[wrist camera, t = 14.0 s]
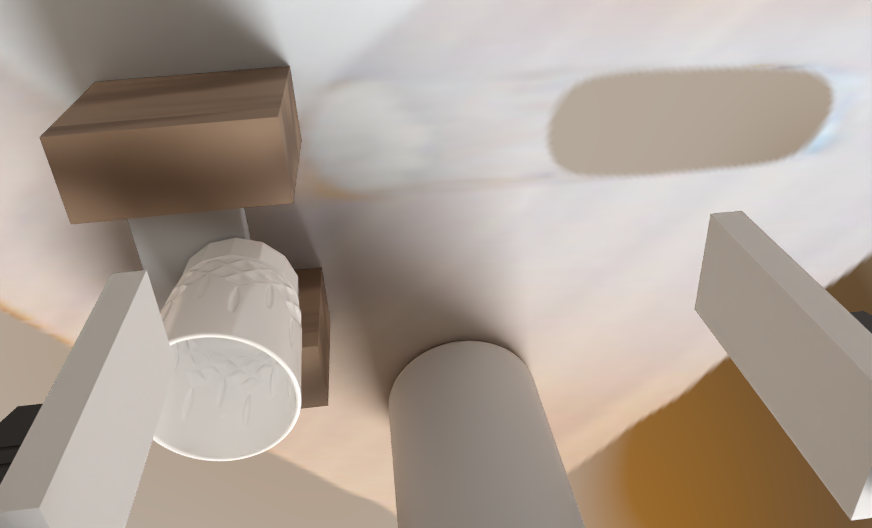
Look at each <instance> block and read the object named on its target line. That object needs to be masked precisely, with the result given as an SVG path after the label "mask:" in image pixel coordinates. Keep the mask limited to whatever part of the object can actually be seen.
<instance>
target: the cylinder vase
mask: <svg viewBox="0 0 872 528" xmlns="http://www.w3.org/2000/svg"><path fill="white" fill-rule="evenodd" d="M389 419H390V432H391V445H392V457H393V470H394V483H395V495H396V508H397V521H398V528H585V526H584V523H583V520H582V517H581V514H580V511H579V509H578V507H577V503H576V500H575V497H574V494H573V492H572V488H571V486H570V483H569V480H568V477H567V474H566V471H565V468H564V465H563V463H562V460H561V457H560V454H559V451H558V448H557V445H556V442H555V440H554V437H553V434H552V431H551V428H550V425H549V422H548V420H547V417H546V414H545V411H544V408H543V405H542V402H541V399H540V397H539V394H538V391H537V388H536V385H535V382H534V379H533V377H532V375H531V373H530V371H529V369H528V368H527V366H526V365H525V364H524V363H523V361H522V360H521V359H520V358H518V357H517V356H516V355H515V354H513V353H512V352H510V351H509V350H507V349H505V348H503V347H500V346H498V345H495V344H491V343H487V342H481V341H458V342H451V343H447V344H443V345H440V346H437V347H435V348H432V349H430V350H428V351H426V352H424V353H422V354H421V355H419V356H418V357H416V358H415V359H414V360H412V361H411V362H410V363H409V364H408V365H407V366H406V367H405V368H404V369H403V370H402V371H401V373H400V374H399V375H398V377H397V379H396V380H395V382H394V384H393V387H392V389H391V392H390V397H389Z"/></svg>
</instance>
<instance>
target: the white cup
mask: <svg viewBox="0 0 872 528" xmlns="http://www.w3.org/2000/svg"><path fill="white" fill-rule="evenodd" d="M160 315H161V318H162V321H163V325H164V328H165V331H166V334H167V337H168V341H169V344H170V347H171V350H172V354H173V357H174V360H175V363H176V368H175V371H174V374H173V377H172V380H171V383H170V387H169V390H168V393H167V396H166V399H165V402H164V406H163V409H162V412H161V415H160V418H159V422H158V425H157V428H156V431H155V434H154V437H153V440H154V441H155V442H157V443H158V444H160V445H161V446H163V447H165V448H167V449H169V450H171V451H173V452H175V453H178V454H180V455H183V456H187V457H190V458H195V459H200V460H208V461H231V460H238V459H243V458H247V457H251V456H254V455H257V454H259V453H262V452H264V451H266V450H268V449H270V448H271V447H273V446H275V445H276V444H278V443H279V442H280V441H281V440H282V439H284V438H285V437H286V436H287V435H288V433H289V432H290V431H291V430H292V428H293V427H294V425H295V423H296V421H297V419H298V417H299V413H300V409H301V376H302V325H301V310H300V308H299V284H298V275H297V274H296V272H295V271H294V269H293V268H292V266H291V265H290V263H289V262H288V260H287V259H286V257H285V256H284V255H282V254H281V253H279V252H278V251H276V250H274V249H273V248H271V247H270V246H268V245H266V244H265V243H263V242H259V241H253V240H248V239H242V238H231V239H226V240H222V241H217V242H212V243H209V244H208V245H206V246H205V247H204V248H202V249H201V250H200V251H199V252H197V253H196V254H195V255H193V256H192V257H191V258H190V259H189V261H188V263H187V265H186V267H185V270H184V272H183V274H182V276H181V278H180V280H179V282H178V283H177V285H176V286H175V287H174V288H173V290H172V291H171V294H170V296H169V297H168V299H167V301H166V303H165V305H164V306H163V308H162V310H161V312H160Z"/></svg>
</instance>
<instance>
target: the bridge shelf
mask: <svg viewBox="0 0 872 528" xmlns="http://www.w3.org/2000/svg"><path fill="white" fill-rule="evenodd" d="M40 140H41V143H42V146H43V148H44V151H45V154H46V157H47V159H48V162H49V165H50V168H51V170H52V173H53V176H54V179H55V182H56V184H57V187H58V190H59V193H60V195H61V198H62V201H63V204H64V206H65V209H66V212H67V215H68V218H69V220H70V223H71V224H79V223H89V222H100V221H111V220H121V219H128V223H129V226H130V229H131V232H132V235H133V239H134V242H135V245H136V248H137V251H138V255H139V258H140V261H141V264H142V267H143V270H147V273H148V276H149V279H150V283H151V286H152V289H153V292H154V295H155V299H156V302H157V305H158V308H159V312H161V310H162V308H163V306H164V305H165V303H166V301H167V299H168V297H169V296H170V294H171V291H172V290H173V288H174V287H175V286H176V285H177V283H178V282H179V280H180V278H181V276H182V274H183V272H184V270H185V267H186V265H187V263H188V261H189V259H190V258H191V257H192V256H193V255H195V254H196V253H197V252H199V251H200V250H201V249H202V248H204V247H205V246H206V245H208V244H209V243H212V242H217V241H222V240H226V239H231V238H242V239H248V240H251V238H250V233H249V229H248V224H247V219H246V215H245V210H244V208H248V207H259V206H269V205H280V204H291V203H293V200H294V193H295V185H296V178H297V171H298V163H299V156H300V149H301V141H302V140H301V134H300V128H299V121H298V115H297V109H296V102H295V96H294V90H293V83H292V77H291V71H290V66H285V67H272V68H260V69H248V70H236V71H223V72H211V73H199V74H186V75H174V76H162V77H150V78H137V79H125V80H113V81H100V82H95V83H94V84H93V85H92V86H91V87H90V88H89V89H88V90H87V91H86V92H85V93H84V94H83V95H82V96H81V97H80V98H79V99H78V100H77V101H76V102H75V103H74V104H73V105H71V106H70V107H69V108H68V109H67V110H66V111H65V112H64V113H63V114H62V115H61V116H60V117H59V118H58V119H57V120H56V121H55V122H54V123H53V124H52V125H51V126H50V127H49V128H48V129H47V130H46V131H45V132H44V133H43V134H42V135H41V136H40ZM294 271H295V272H296V274H297V275H298V284H299V308H300V310H301V325H302V376H301V409H302V408H311V407H319V406H328V390H329V353H330V317H329V311H328V304H327V298H326V292H325V285H324V279H323V273H322V268H313V269H303V270H294Z"/></svg>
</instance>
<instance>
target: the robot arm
mask: <svg viewBox="0 0 872 528" xmlns="http://www.w3.org/2000/svg"><path fill="white" fill-rule="evenodd" d="M695 310H696V312H697V313H698V314H699V316H700V317H701V318H702V320H703V321H704V322H705V324H706V325H707V327H708V328H709V329H710V331H711V332H712V333H713V335H714V336H715V337H716V339H717V340H718V341H719V343H720V344H721V345H722V347H723V348H724V349H725V351H726V352H727V354H728V355H729V356H730V358H731V359H732V360H733V362H734V363H735V364H736V365H737V367H738V368H739V370H740V371H741V372H742V373H743V375H744V376H745V378H746V379H747V381H748V382H749V383H750V385H751V386H752V387H753V389H754V390H755V391H756V393H757V394H758V395H759V397H760V398H761V399H762V401H763V402H764V403H765V405H766V406H767V408H768V409H769V410H770V412H771V413H772V414H773V416H774V417H775V418H776V420H777V421H778V422H779V424H780V425H781V426H782V428H783V429H784V431H785V432H786V433H787V434H788V436H789V437H790V439H791V440H792V441H793V443H794V444H795V445H796V447H797V448H798V449H799V451H800V452H801V453H802V455H803V456H804V457H805V459H806V460H807V462H808V463H809V464H810V466H811V467H812V468H813V469H814V471H815V472H816V474H817V475H818V476H819V478H820V479H821V480H822V482H823V483H824V485H825V486H826V487H827V489H828V490H829V491H830V493H831V494H832V495H833V496H834V498H835V499H836V501H837V502H838V503H839V505H840V506H841V508H842V509H843V510H844V512H845V513H846V514H847V516H848V517H849V518H850V520H856V519H865V518H872V315H870V314H868V313H867V312H864V311H860V312H851V313H849V312H848V311H847V310H846V309H845V308H844V307H843V306H842V305H841V304H840V303H839V302H838V301H837V300H835V298H833V297H832V296H831V295H830V294H829V293H828V292H827V291H826V290H825V289H824V288H823V287H822V286H821V285H820V284H819V283H818V282H817V281H815V280H814V279H813V278H812V277H811V276H810V275H809V274H808V273H807V272H806V271H805V270H804V269H803V268H802V267H801V266H800V265H799V264H797V263H796V262H795V261H794V260H793V259H792V258H791V257H790V256H789V255H788V254H787V253H786V252H785V251H784V250H783V249H782V248H781V247H779V246H778V245H777V244H776V243H775V242H774V241H773V240H772V239H771V238H770V237H769V236H768V235H767V234H766V233H765V232H764V231H763V230H761V229H760V228H759V227H758V226H757V225H756V224H755V223H754V222H753V221H752V220H751V219H750V218H749V217H748V216H747V215H746V214H745V213H743V212H742V211H735V212H725V213H715V214H711V215H710V221H709V227H708V233H707V239H706V244H705V250H704V256H703V262H702V268H701V274H700V280H699V286H698V292H697V298H696V304H695ZM175 368H176V363H175V360H174V357H173V354H172V350H171V347H170V344H169V341H168V337H167V334H166V331H165V328H164V325H163V321H162V318H161V315H160V312H159V308H158V305H157V302H156V299H155V295H154V292H153V289H152V286H151V283H150V279H149V276H148V273H147V270H142V271H132V272H122V273H112V274H111V276H110V278H109V280H108V282H107V283H106V285H105V287H104V289H103V291H102V293H101V295H100V297H99V299H98V301H97V302H96V304H95V306H94V308H93V310H92V312H91V314H90V316H89V318H88V319H87V321H86V323H85V325H84V327H83V329H82V331H81V333H80V335H79V337H78V338H77V340H76V342H75V344H74V346H73V348H72V350H71V352H70V354H69V355H68V357H67V359H66V361H65V363H64V365H63V367H62V369H61V371H60V373H59V375H58V376H57V378H56V380H55V382H54V384H53V386H52V388H51V390H50V391H49V393H48V396H47V397H46V399H45V401H44V403H43V404H36V405H27V406H18V407H17V408H16V409H14V410H13V411H12V412H11V413H10V414H9V415H8V416H7V417H6V418H5V419H3V420H2V421H1V422H0V528H125V526H126V523H127V520H128V517H129V514H130V510H131V507H132V504H133V501H134V498H135V494H136V491H137V488H138V485H139V482H140V478H141V475H142V472H143V469H144V466H145V463H146V459H147V456H148V453H149V450H150V447H151V444H152V440H153V437H154V434H155V431H156V428H157V425H158V422H159V418H160V415H161V412H162V409H163V406H164V402H165V399H166V396H167V393H168V390H169V387H170V383H171V380H172V377H173V374H174V371H175Z"/></svg>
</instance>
